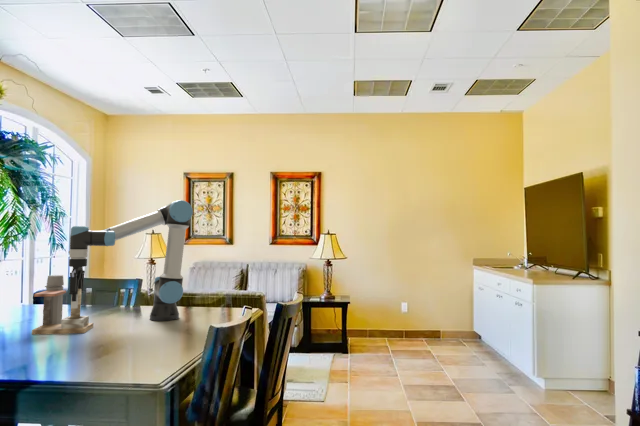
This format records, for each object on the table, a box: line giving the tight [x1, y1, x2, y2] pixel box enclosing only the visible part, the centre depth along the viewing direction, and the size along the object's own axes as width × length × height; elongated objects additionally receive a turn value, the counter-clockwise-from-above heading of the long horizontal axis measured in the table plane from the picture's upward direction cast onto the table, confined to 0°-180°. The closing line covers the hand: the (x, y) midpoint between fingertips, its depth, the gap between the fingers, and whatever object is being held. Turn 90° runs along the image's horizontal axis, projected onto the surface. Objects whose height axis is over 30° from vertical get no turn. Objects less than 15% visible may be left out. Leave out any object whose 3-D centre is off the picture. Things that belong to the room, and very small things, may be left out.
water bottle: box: [42, 274, 65, 324], centre depth 213 cm, size 9×8×25 cm
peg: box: [70, 289, 82, 319], centre depth 204 cm, size 4×4×14 cm
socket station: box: [31, 289, 94, 336], centre depth 204 cm, size 22×13×18 cm, turn 102°
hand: (75, 307), depth 204 cm, fingers closed on peg, 4 cm apart
